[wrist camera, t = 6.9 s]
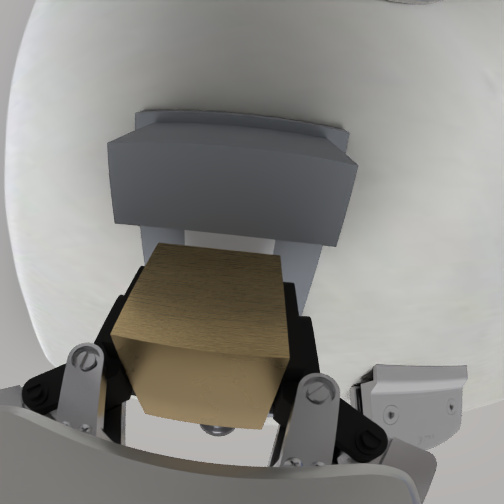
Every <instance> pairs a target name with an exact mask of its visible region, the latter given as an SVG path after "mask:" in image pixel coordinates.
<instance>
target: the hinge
mask: <svg viewBox="0 0 504 504" xmlns="http://www.w3.org/2000/svg"><path fill="white" fill-rule="evenodd" d="M467 379H468V374H467V366H396V365H375V366H374V367H373V381H370V382H366V383H362V384H361V387H357V386H353V387H351V388H350V399H351V406H352V407H354V408H355V409H356V410H358V411H359V412H360V413H362V414H363V415H365V416H366V417H368V418H369V419H370V420H372V421H373V422H375V423H376V424H378V425H379V426H380V427H381V428H383V429H384V431H385V432H386V434H387V437H390V438H393V437H395V438H398V439H400V440H402V441H404V442H407V443H409V444H411V445H413V446H416V447H418V448H420V449H423V450H428V449H431V448H434V447H436V446H438V445H440V444H441V443H443V442H445V441H446V440H448V439H449V438H450V437H452V436H453V435H454V434H455V433H456V432H457V431H458V430H459V429H460V426H461V416H462V389H463V386H464V384H465V383H466V381H467Z"/></svg>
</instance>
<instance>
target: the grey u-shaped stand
mask: <svg viewBox="0 0 504 504" xmlns="http://www.w3.org/2000/svg"><path fill="white" fill-rule="evenodd" d="M348 138H349V132H347V131H346V130H344V129H340V128H335V127H330V126H325V125H320V124H315V123H309V122H303V121H297V120H291V119H284V118H277V117H269V116H261V115H252V114H242V113H230V112H215V111H191V110H150V111H140V112H137V113H135V131H133V132H130V133H128V134H126V135H124V136H121V137H119V138H117V139H115V140H113V141H111V142H109V143H107V147H108V164H109V177H110V188H111V197H112V206H113V214H114V221H115V223H116V224H127V225H138V226H140V229H141V238H142V247H143V255H144V262H145V265H146V263H147V262H148V260H149V258H150V256H151V254H152V253H153V251H154V249H155V247H156V246H157V244H158V242H159V243H168V244H178V245H187V246H197V247H206V248H216V249H225V250H234V251H244V252H253V253H263V254H272V255H280V257H281V267H282V277H283V282H291V283H294V284H295V290H296V297H297V304H298V311H299V316H301V315H302V312H303V309H304V306H305V303H306V300H307V297H308V293H309V290H310V287H311V284H312V280H313V277H314V274H315V270H316V267H317V264H318V260H319V257H320V253H321V250H322V246H323V245H325V246H333V247H336V245H337V242H338V239H339V235H340V232H341V228H342V225H343V222H344V218H345V214H346V211H347V207H348V203H349V200H350V196H351V192H352V188H353V184H354V180H355V176H356V172H357V168H358V165H357V164H356V163H355V162H354V161H353V160H351V159H350V158H349V157H348V156H347V155H346V154H345V153H346V148H347V143H348ZM267 417H273V414H269V413H268V415H267Z"/></svg>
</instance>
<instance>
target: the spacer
mask: <svg viewBox="0 0 504 504" xmlns="http://www.w3.org/2000/svg"><path fill="white" fill-rule="evenodd" d="M110 335H111V337H112V340H113V343H114V345H115V348H116V350H117V353H118V355H119V358H120V360H121V363H122V365H123V367H124V370H125V372H126V374H127V377H128V379H129V381H130V383H131V385H132V387H133V390H134V392H135V394H136V396H137V398H138V400H139V402H140V404H141V406H142V408H143V410H144V412H145V414H149V415H153V416H158V417H162V418H168V419H173V420H178V421H184V422H191V423H197V424H205V425H212V426H221V427H232V428H245V429H262V427H263V425H264V422H265V420H266V418H267V415H268V413H269V410H270V408H271V406H272V403H273V401H274V398H275V396H276V393H277V391H278V388H279V385H280V383H281V380H282V378H283V375H284V372H285V370H286V367H287V364H288V362H289V359H290V356H289V343H288V331H287V320H286V308H285V298H284V287H283V277H282V267H281V257H280V255H272V254H263V253H253V252H244V251H234V250H225V249H216V248H206V247H197V246H187V245H178V244H168V243H159V242H158V244H157V246H156V247H155V249H154V251H153V253H152V254H151V256H150V258H149V260H148V262H147V263H146V265H145V267H144V269H143V271H142V273H141V274H140V276H139V278H138V280H137V282H136V284H135V286H134V287H133V289H132V291H131V293H130V295H129V297H128V299H127V301H126V303H125V305H124V307H123V309H122V311H121V313H120V315H119V317H118V319H117V321H116V323H115V325H114V327H113V329H112V332H111V334H110Z"/></svg>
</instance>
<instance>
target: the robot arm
mask: <svg viewBox="0 0 504 504" xmlns="http://www.w3.org/2000/svg"><path fill="white" fill-rule="evenodd" d="M389 1H392V2H400V3H407V4H430V3H434V2H438V1H442V0H389ZM144 267H145V266H141V267H140V268H139V270H138V272H137V273H136V275H135V277H134V279H133V280H132V282H131V284H130V286H129V288H128V290H127V291H126V293H125V295H120V296H119V297H118V298H117V300H116V302H115V303H114V305H113V307H112V309H111V311H110V313H109V315H108V317H107V318H106V320H105V322H104V324H103V326H102V328H101V330H100V332H99V334H98V336H97V338H96V340H95V342H94V344H93V343H82V344H79V345H77V346H76V347H74V348H73V349H72V350H71V352H70V353H69V356H68V359H67V363H66V364H64V365H61V366H59V367H57V368H54V369H52V370H50V371H47V372H45V373H43V374H40V375H38V376H36V377H33V378H31V379H30V380H28V381H27V382H26V383H25V385H24V386H23V387H21V386H20V385H18V386H14V387H9V388H5V389H1V390H0V504H423V502H424V499H425V497H426V495H427V492H428V490H429V487H430V485H431V482H432V479H433V476H434V474H435V471H436V466H437V462H436V458H435V457H434V455H433V454H431V453H430V452H428V451H425V450H423V449H420V448H418V447H416V446H413V445H411V444H409V443H407V442H404V441H402V440H400V439H398V438H395V437H393V438H390V437H387V434H386V432H385V431H384V429H383V428H381V427H380V426H379V425H378V424H376V423H375V422H373V421H372V420H370V419H369V418H368V417H366V416H365V415H363V414H362V413H360V412H359V411H358V410H356V409H355V408H354V407H352V406H351V405H349V404H348V403H347V402H345V401H344V400H343V399H341V398H340V388H339V386H338V384H337V383H336V381H335V380H334V379H333V378H331V377H330V376H328V375H325V374H322V373H320V369H319V363H318V356H317V350H316V344H315V338H314V332H313V326H312V321H311V318H310V317H307V316H299V311H298V304H297V297H296V290H295V284H294V283H291V282H283V287H284V298H285V308H286V320H287V331H288V343H289V356H290V359H289V362H288V364H287V367H286V370H285V372H284V375H283V378H282V380H281V383H280V385H279V388H278V391H277V393H276V396H275V398H274V401H273V403H272V406H271V408H270V410H269V414H273V419H274V420H275V421H276V422H277V423H278V424H279V426H278V430H277V434H276V438H275V442H274V445H273V449H272V453H271V456H270V460H269V463H268V467H251V466H250V467H249V466H235V465H223V464H213V463H205V462H198V461H192V460H185V459H180V458H174V457H169V456H164V455H159V454H154V453H150V452H146V451H142V450H138V449H134V448H131V447H127V446H125V412H126V401H127V400H129V399H130V397H131V395H134V396H136V394H135V392H134V390H133V387H132V385H131V383H130V381H129V379H128V377H127V374H126V372H125V370H124V367H123V365H122V363H121V360H120V358H119V355H118V353H117V350H116V348H115V345H114V343H113V340H112V337H111V335H110V334H111V332H112V329H113V327H114V325H115V323H116V321H117V319H118V317H119V315H120V313H121V311H122V309H123V307H124V305H125V303H126V301H127V299H128V297H129V295H130V293H131V291H132V289H133V287H134V286H135V284H136V282H137V280H138V278H139V276H140V274H141V273H142V271H143V269H144Z"/></svg>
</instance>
